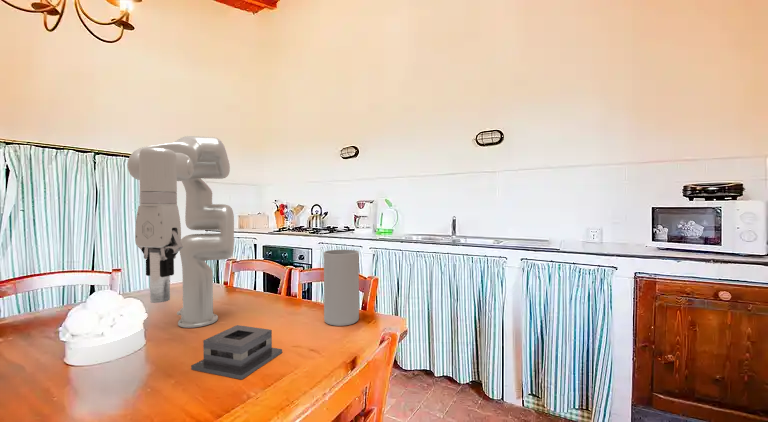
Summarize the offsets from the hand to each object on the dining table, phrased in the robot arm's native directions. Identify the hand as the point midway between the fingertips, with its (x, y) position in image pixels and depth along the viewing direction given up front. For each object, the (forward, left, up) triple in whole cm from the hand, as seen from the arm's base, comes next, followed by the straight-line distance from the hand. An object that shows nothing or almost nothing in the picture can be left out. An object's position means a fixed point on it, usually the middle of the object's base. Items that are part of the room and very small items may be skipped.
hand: (160, 274), depth 84 cm
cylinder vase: (+24, +51, -25) cm, 62 cm away
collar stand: (+12, +13, -25) cm, 31 cm away
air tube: (0, 0, -6) cm, 6 cm away
